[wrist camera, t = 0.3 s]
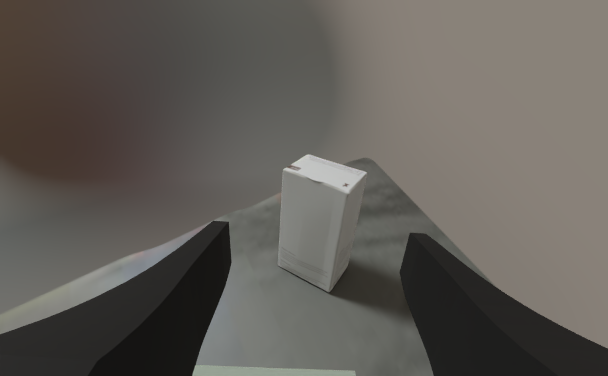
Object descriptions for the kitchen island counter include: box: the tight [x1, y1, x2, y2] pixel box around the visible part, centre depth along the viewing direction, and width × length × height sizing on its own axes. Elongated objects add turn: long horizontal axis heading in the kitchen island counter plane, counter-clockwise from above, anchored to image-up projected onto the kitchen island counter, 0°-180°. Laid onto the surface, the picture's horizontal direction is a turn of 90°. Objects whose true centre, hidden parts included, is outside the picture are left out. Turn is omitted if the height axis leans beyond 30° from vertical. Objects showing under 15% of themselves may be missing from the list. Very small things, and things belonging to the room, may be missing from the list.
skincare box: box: [278, 155, 367, 292], centre depth 36 cm, size 8×6×15 cm
